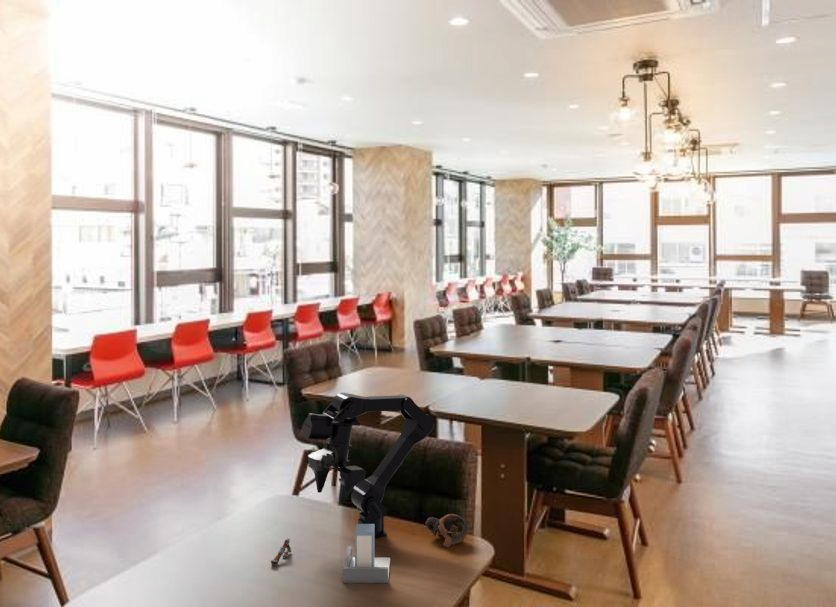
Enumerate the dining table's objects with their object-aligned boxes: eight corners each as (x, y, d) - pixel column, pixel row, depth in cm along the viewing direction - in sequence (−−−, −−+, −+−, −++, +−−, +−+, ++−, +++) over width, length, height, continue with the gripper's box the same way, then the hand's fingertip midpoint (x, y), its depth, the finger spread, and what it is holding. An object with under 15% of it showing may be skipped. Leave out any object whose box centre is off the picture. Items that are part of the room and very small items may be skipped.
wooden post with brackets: (295, 549, 177) (291, 536, 175) (280, 573, 170) (276, 561, 168) (289, 547, 178) (285, 535, 175) (274, 572, 171) (270, 560, 169)
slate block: (356, 565, 168) (356, 523, 167) (374, 565, 168) (374, 524, 167) (355, 575, 164) (354, 531, 163) (373, 575, 164) (373, 532, 163)
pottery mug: (466, 534, 190) (472, 515, 185) (460, 561, 182) (466, 543, 177) (426, 520, 191) (431, 502, 186) (418, 547, 183) (423, 529, 179)
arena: (347, 559, 173) (347, 546, 173) (390, 559, 173) (390, 546, 173) (342, 582, 161) (342, 568, 161) (387, 583, 161) (387, 569, 161)
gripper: (294, 432, 180) (285, 489, 180) (339, 450, 168) (329, 512, 168) (326, 431, 189) (317, 486, 189) (371, 448, 176) (361, 507, 176)
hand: (330, 497), depth 180 cm, fingers open, 9 cm apart
